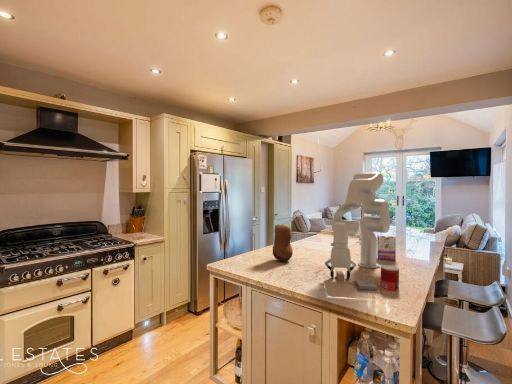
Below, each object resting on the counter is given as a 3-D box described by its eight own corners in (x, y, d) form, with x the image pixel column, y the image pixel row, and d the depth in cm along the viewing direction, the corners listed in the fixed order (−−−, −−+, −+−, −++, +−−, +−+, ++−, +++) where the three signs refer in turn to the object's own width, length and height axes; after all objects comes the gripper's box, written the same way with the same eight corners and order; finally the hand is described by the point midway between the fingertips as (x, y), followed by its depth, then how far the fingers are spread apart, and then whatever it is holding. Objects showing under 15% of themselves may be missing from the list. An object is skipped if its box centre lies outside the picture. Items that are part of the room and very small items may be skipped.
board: (351, 282, 141) (351, 280, 141) (373, 283, 139) (373, 282, 139) (357, 293, 126) (357, 291, 126) (382, 295, 124) (382, 293, 124)
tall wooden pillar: (332, 274, 154) (332, 267, 154) (342, 274, 153) (343, 267, 153) (335, 282, 141) (335, 275, 140) (347, 283, 140) (347, 275, 140)
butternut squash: (295, 259, 184) (295, 223, 184) (289, 264, 172) (289, 225, 171) (276, 257, 190) (276, 222, 189) (269, 262, 178) (269, 224, 177)
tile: (355, 279, 138) (359, 285, 129) (372, 280, 137) (377, 286, 128) (355, 282, 138) (359, 289, 129) (372, 283, 137) (377, 290, 128)
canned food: (399, 293, 126) (400, 270, 126) (381, 291, 129) (381, 268, 129) (397, 287, 133) (398, 265, 133) (380, 285, 136) (380, 264, 136)
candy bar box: (394, 259, 187) (394, 235, 187) (395, 261, 182) (396, 237, 182) (376, 257, 190) (377, 234, 190) (377, 259, 186) (378, 236, 185)
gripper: (324, 246, 141) (324, 279, 142) (359, 247, 139) (358, 281, 139) (323, 243, 149) (322, 275, 149) (356, 244, 146) (355, 277, 146)
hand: (340, 278), depth 144 cm, fingers open, 7 cm apart
